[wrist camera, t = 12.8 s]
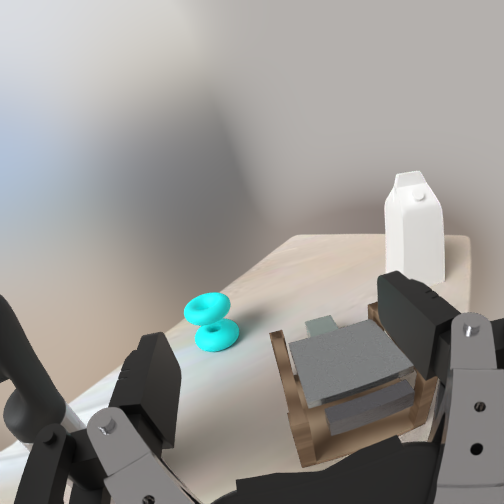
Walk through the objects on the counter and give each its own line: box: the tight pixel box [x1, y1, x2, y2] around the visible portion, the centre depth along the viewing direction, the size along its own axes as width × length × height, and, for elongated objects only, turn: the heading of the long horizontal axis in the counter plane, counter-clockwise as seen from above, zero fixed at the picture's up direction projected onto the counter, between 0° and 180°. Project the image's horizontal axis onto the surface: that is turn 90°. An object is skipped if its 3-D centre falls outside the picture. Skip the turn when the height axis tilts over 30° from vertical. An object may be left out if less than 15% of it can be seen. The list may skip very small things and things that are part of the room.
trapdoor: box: [289, 318, 415, 436], centre depth 34 cm, size 17×13×3 cm
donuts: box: [184, 292, 239, 352], centre depth 62 cm, size 10×10×10 cm
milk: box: [385, 171, 445, 287], centre depth 62 cm, size 12×12×26 cm
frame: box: [269, 302, 438, 468], centre depth 37 cm, size 18×18×11 cm
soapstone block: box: [305, 315, 339, 338], centre depth 49 cm, size 5×5×12 cm
